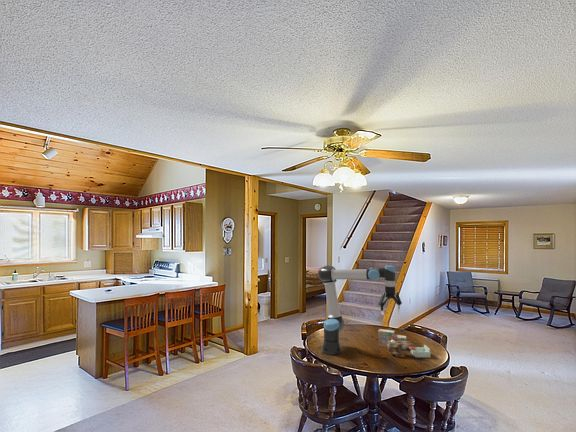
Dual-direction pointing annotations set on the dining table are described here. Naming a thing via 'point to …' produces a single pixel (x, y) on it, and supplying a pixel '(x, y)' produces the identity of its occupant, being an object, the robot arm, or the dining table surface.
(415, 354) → the pale green open box
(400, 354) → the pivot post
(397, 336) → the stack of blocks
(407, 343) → the mottled brown lumpy cluster
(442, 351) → the dining table surface
